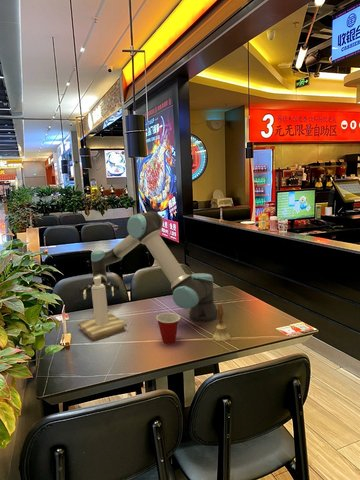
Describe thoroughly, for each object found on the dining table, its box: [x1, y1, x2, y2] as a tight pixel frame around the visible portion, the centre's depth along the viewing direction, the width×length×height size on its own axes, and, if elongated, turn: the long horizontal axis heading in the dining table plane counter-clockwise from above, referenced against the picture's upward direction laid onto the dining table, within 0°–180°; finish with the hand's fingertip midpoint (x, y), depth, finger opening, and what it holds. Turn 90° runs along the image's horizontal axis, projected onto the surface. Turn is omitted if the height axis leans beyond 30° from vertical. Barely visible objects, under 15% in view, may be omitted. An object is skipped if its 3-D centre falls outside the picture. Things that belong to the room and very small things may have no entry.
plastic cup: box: [155, 312, 181, 345], centre depth 163 cm, size 11×11×12 cm
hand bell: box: [212, 303, 232, 342], centre depth 163 cm, size 8×8×16 cm
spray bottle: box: [91, 277, 109, 326], centre depth 177 cm, size 7×7×25 cm
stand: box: [77, 312, 128, 341], centre depth 179 cm, size 18×18×4 cm
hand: (98, 294), depth 175 cm, fingers open, 13 cm apart
